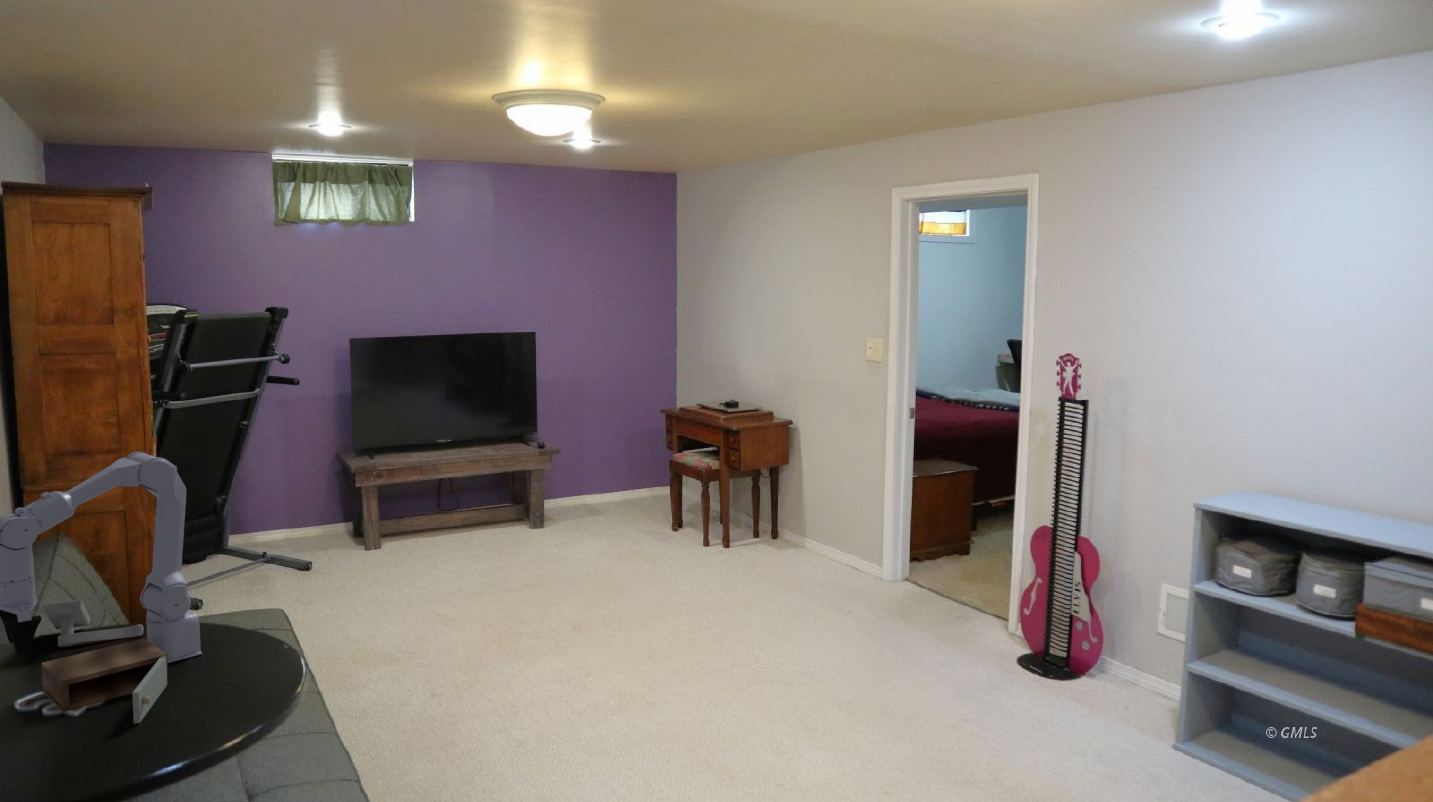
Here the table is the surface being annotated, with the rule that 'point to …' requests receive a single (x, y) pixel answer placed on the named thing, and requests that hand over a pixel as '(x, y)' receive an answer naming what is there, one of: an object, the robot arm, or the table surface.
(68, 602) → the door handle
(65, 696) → the walnut cabinet
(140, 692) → the cabinet door
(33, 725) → the table surface
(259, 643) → the table surface
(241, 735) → the table surface
